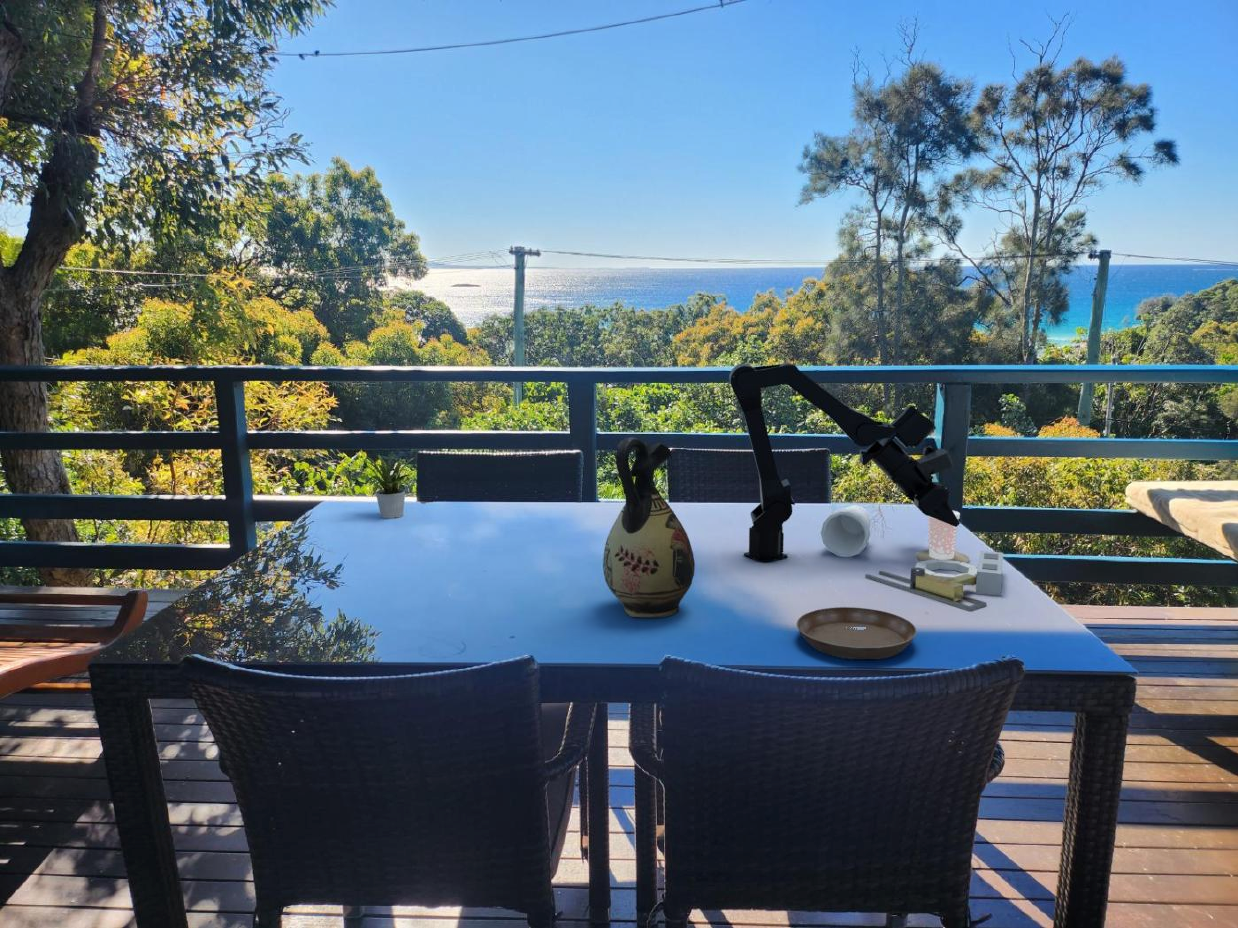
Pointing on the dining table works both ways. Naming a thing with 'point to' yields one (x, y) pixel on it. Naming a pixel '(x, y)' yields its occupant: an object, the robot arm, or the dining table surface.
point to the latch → (940, 584)
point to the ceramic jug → (646, 539)
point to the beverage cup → (942, 538)
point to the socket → (972, 571)
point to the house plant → (389, 489)
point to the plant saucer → (856, 632)
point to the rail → (976, 602)
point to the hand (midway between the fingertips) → (951, 519)
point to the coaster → (925, 556)
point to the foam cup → (846, 531)
